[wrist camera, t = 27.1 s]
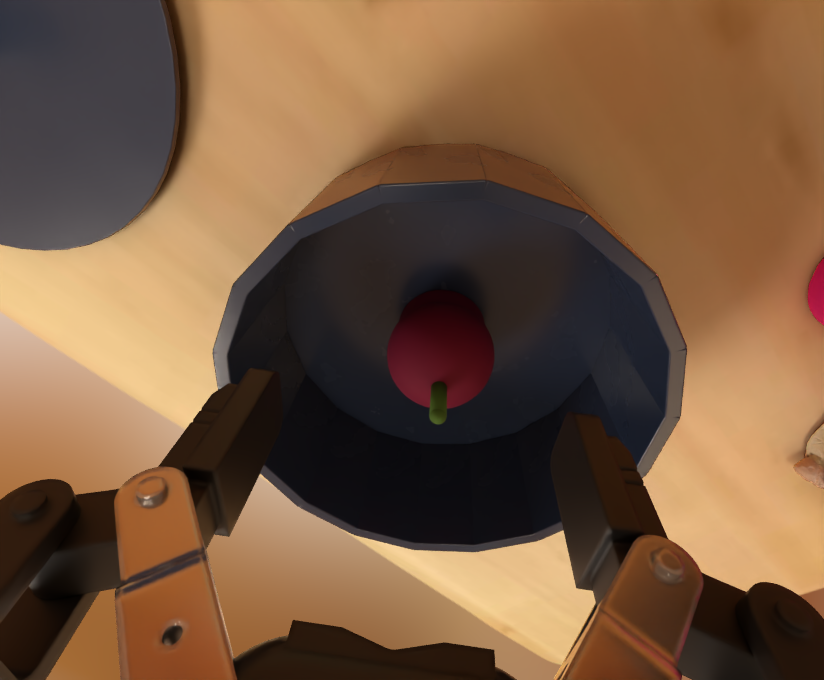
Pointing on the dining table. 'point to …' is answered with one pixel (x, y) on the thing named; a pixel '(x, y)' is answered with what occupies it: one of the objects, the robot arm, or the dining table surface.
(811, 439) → the figurine
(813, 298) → the pepper mill
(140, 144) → the pan lid
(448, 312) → the beet
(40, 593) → the robot arm
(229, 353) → the pan
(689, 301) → the dining table surface
